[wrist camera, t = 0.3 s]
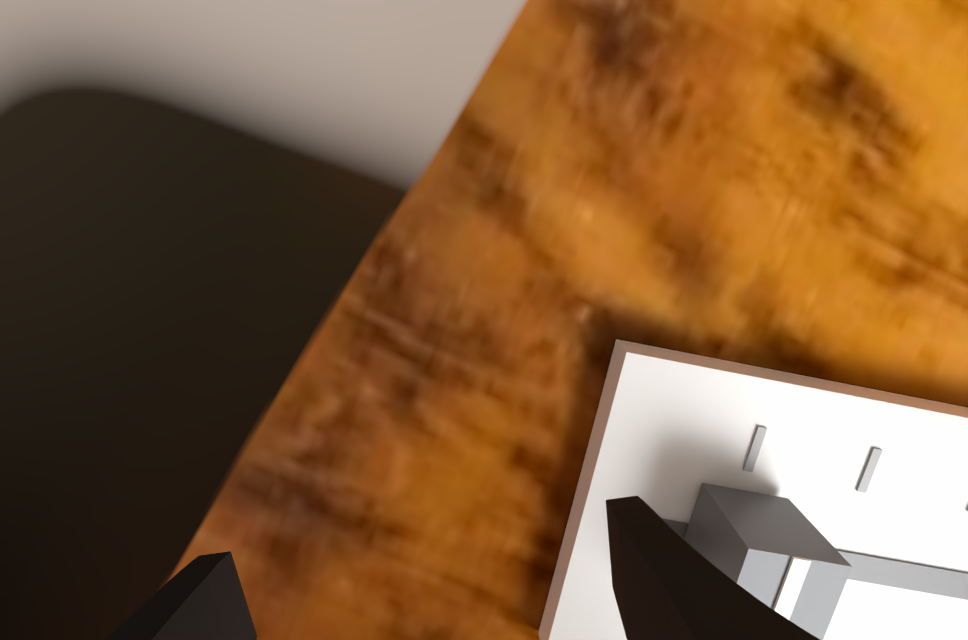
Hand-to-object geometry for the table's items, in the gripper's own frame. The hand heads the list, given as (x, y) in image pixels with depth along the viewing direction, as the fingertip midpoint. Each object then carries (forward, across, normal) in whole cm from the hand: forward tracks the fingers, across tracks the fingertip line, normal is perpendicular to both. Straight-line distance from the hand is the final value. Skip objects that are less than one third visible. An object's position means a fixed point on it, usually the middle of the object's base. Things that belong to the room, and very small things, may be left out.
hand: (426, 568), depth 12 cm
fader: (+7, -9, +7) cm, 13 cm away
